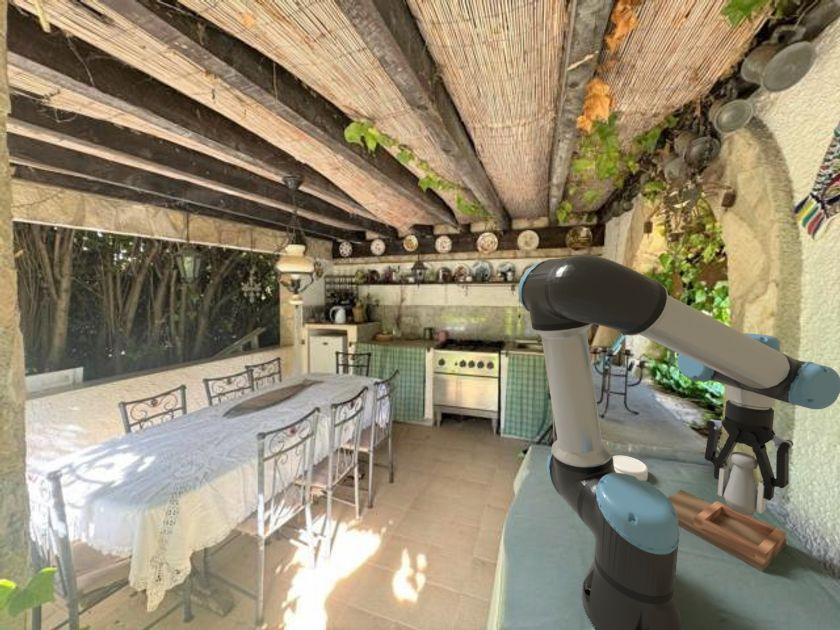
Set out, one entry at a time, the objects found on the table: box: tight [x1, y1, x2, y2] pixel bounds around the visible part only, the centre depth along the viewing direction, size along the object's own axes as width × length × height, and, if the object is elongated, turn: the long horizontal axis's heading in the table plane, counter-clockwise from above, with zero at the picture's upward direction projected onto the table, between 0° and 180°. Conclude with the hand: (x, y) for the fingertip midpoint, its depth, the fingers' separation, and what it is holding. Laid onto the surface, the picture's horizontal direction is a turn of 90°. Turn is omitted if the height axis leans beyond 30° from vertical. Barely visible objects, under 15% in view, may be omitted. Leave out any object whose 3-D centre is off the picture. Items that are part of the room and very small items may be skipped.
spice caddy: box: [667, 489, 787, 573], centre depth 78 cm, size 14×20×4 cm
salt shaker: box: [723, 451, 759, 516], centre depth 73 cm, size 6×6×13 cm
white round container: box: [612, 455, 649, 482], centre depth 100 cm, size 10×10×4 cm
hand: (740, 501), depth 73 cm, fingers closed on salt shaker, 6 cm apart
